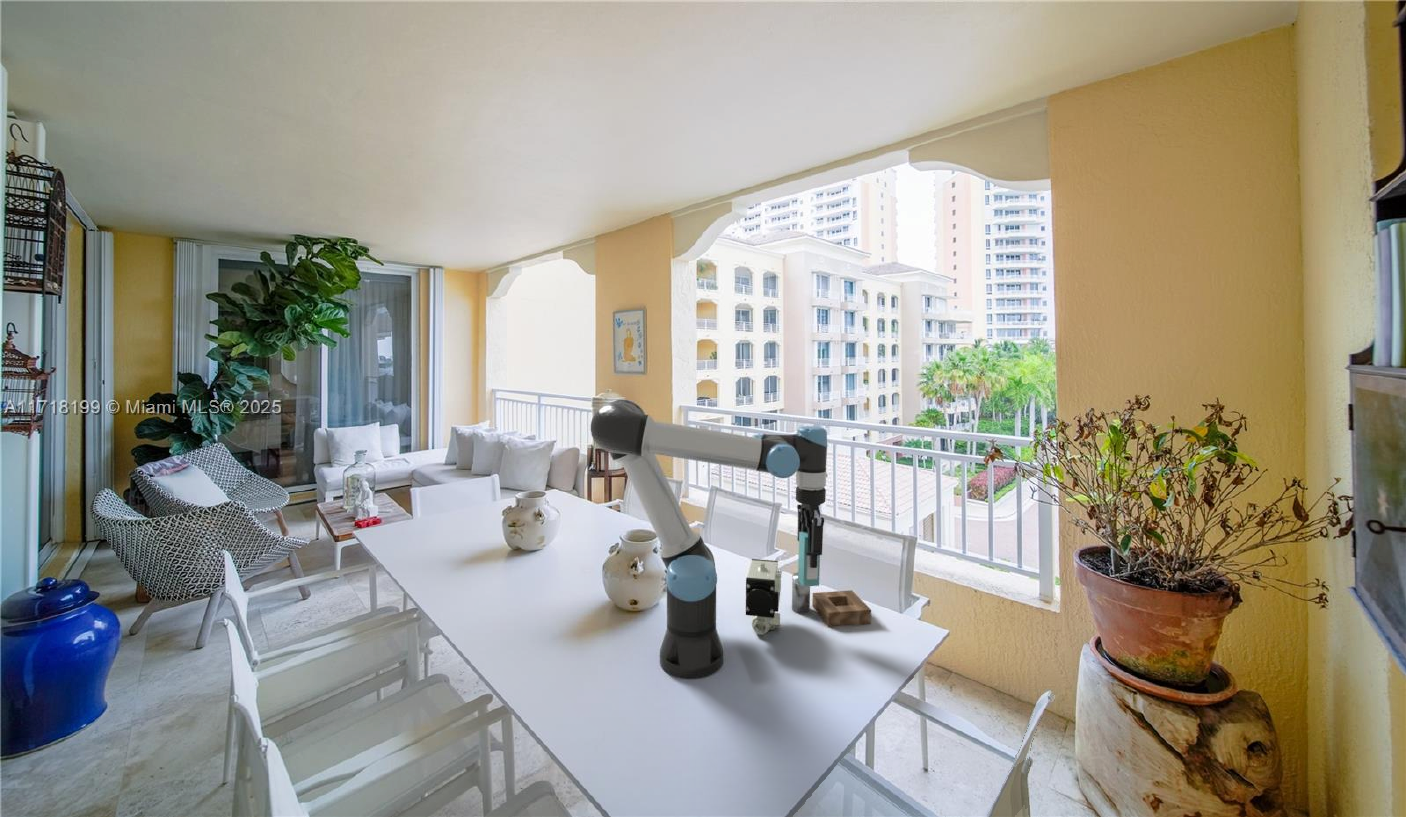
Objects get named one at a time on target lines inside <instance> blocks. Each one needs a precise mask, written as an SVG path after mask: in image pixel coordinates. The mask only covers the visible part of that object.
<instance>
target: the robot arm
mask: <svg viewBox="0 0 1406 817" xmlns="http://www.w3.org/2000/svg"><path fill="white" fill-rule="evenodd" d="M590 434H591V437H592V440H593V442H594V443H595V444H596V445H597V447H599V448H601V449H602V450H605V451H606V452H609V455H610V457H611V458H612V461H613V462H615V463H618V464H621V465H622V467H623V470H624V471H625V474H626V476H627V477H628V479H629V481H630V483H631V486H632V487H633V490H634V491H635V495H637V498H638V499H639V500H638V501H639V502H640V504H641V506H642V508H643V511H645V514H646V516H647V518H648V520H649V522H650V524H651V526H652V528H653V530H654V532H655V534H656V537H657V538H658V540H659V543H660V544H661V548H660V549H661V550H660V551H659V556H660V558H661V560H662V563H663V564H664V566H665V568H666V575H665V584H666V630H665V634H664V636H663V640H662V643H661V646H660V649H659V665H660V667H661V668H662V670H663V671H664V672H666V673H668V674H669V675H671V676H673V677H676V678H680V679H685V680H686V679H687V680H688V679H690V680H692V679H694V680H695V679H701V678H705V677H708V676H711V675H713V674H715V673H716V672H719V670H720V669H721V668H722V667H723V664H724V648H723V645H722V642H721V639H720V636H719V633H718V630H717V583H718V573H717V569H716V563H715V562H716V561H715V558H714V555H713V553H712V550H711V549H710V548H709V547H708V545H707V544H705V542H704V540H703V538H702V536H701V534H700V533H699V532H697V531H695V530H692V529H691V526H690V524H689V522H688V520H687V518H686V516H685V514H684V511H683V510H682V507H681V506H680V504H679V501H678V500H677V497H676V495H675V493H674V491H673V489H672V487H671V485H670V483H669V481H668V479H667V477H666V474H665V473H664V470H663V468H662V466H661V464H660V462H659V460H658V458H657V456H658V455H659V456H665V457H671V458H677V459H684V460H689V461H695V462H703V463H708V464H714V465H721V466H728V467H733V468H739V469H746V470H752V471H756V472H762V473H767V474H770V475H772V476H774V477H775V478H777V479H778V478H779V479H787V478H790V477H792V476H794V475H795V485H796V488H795V500H796V502H797V503H799V504H797V506H796V508H797V542H799V532H808V551H809V552H808V553H806V555H807V572H806V579H807V580H808V579H817V577H818V555H820V556H823V538H824V525H825V518H824V517H821V511H820V506H821V505H823V504H825V503H826V500H827V499H826V495H827V492H826V490H827V489H826V488H825V487H826V485H827V477H828V473H827V456H828V448H829V447H828V446H829V445H828V432H827V429H826V428H824V427H822V426H812V425H806V426H803V425H802V426H799V427H798V428H797V432H796V433H794V434H766V433H762V434H752V435H751V436H748V435H747V436H746V435H741V434H737V433H736V434H735V433H729V432H724V431H718V430H711V429H706V428H700V427H694V426H687V425H682V424H677V423H669V422H665V421H658V420H654V419H653V417H652V415H650V414H646V413H645V411H644V410H643V409H642V408H641V406H639V405H638V404H637V403H635V402H634V401H631V400H628V399H617V400H615V401H611V402H610V403H607V404H606V405H604V406H602V407H600V408H599V409H597V411H596V412H595V413H594V414H593V416H592V419H591V421H590ZM656 455H657V456H656Z"/></svg>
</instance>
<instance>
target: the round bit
mask: <svg viewBox="0 0 1406 817" xmlns="http://www.w3.org/2000/svg"><path fill="white" fill-rule="evenodd" d="M791 580H792V582H791V583H792V584H791V585H792V586H791V587H792V588H791V590H792V591H791V610H792V612H794V613H795V614H800V615H807V614H808V613H810V610H811V609H810V608H811V586H806V587H803V585H802V584H801V583H800V582H799V580H798V572H793V574H792V579H791Z"/></svg>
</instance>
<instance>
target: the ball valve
mask: <svg viewBox="0 0 1406 817" xmlns="http://www.w3.org/2000/svg"><path fill="white" fill-rule="evenodd" d="M778 565H779V561H778V560H769V559H756V558H752V559H751V561H750V564H749V568H748V572H747V575H746V579H745V616H750V617H751V616H752V617H753V618H752V622H751V626H752V629H753V630H754V633H755V634H756V635H760V636H761V635H762V636H764V635H765V634H766V633H768V632H769V631H775V630H779V629H780V627H781V626H780V625H781V614H780V613H779V606H780V599H781V590H782V572H783V570H782V569H779V568H778V567H779V566H778Z"/></svg>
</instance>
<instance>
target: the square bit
mask: <svg viewBox="0 0 1406 817" xmlns="http://www.w3.org/2000/svg"><path fill="white" fill-rule="evenodd" d="M808 552H809V551H808V532H799V541H798V563H797V564H798V565H797V566H798V567H797V568H798V580H799V582H800V583H801V584H802V585H803V587H806V586H810V587H819V586H820V570H821V569H820V566H821V564H820V563H821V562H820V561H821V555H818V577H817V579H808V580H807V579H806V572H807V555H806V553H808Z"/></svg>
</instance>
